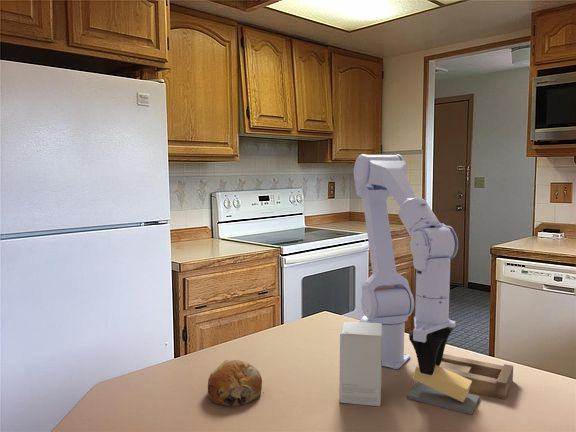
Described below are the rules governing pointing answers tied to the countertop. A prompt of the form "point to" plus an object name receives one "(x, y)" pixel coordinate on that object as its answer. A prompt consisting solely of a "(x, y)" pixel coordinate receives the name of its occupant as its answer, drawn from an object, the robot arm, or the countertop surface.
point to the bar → (445, 382)
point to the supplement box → (360, 363)
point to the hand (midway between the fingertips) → (430, 368)
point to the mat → (442, 399)
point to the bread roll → (234, 383)
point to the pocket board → (481, 375)
